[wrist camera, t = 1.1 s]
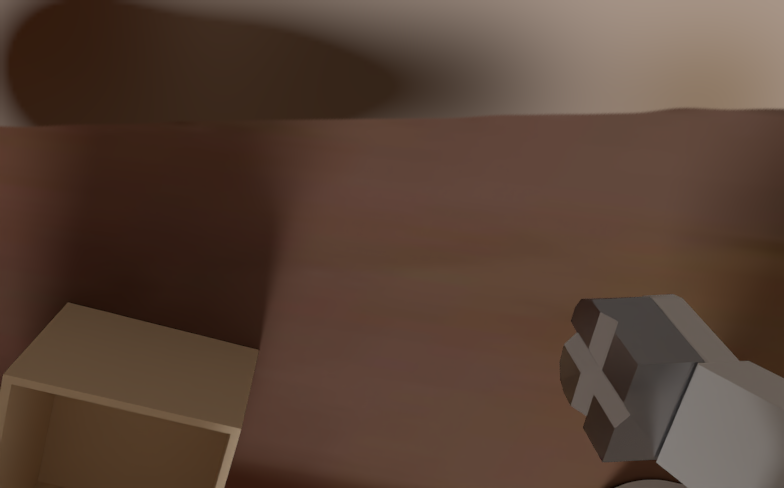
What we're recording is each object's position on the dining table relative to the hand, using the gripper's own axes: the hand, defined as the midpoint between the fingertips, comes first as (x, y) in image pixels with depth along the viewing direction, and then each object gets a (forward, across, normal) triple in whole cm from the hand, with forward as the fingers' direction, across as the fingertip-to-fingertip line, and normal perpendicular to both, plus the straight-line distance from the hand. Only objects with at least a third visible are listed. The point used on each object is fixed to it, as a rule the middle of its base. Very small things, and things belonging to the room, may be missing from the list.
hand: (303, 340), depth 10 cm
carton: (+40, -9, -41) cm, 58 cm away
